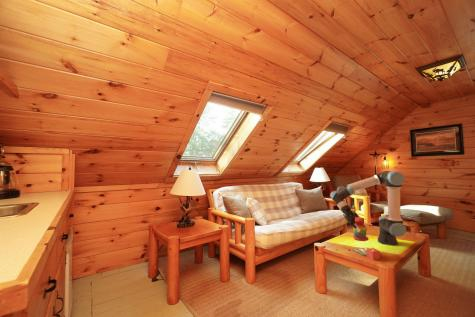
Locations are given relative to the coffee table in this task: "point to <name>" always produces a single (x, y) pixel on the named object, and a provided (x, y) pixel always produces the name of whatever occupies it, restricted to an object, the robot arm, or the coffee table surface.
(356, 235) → the stacking bear
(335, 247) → the coffee table surface
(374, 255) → the red die
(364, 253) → the game track
